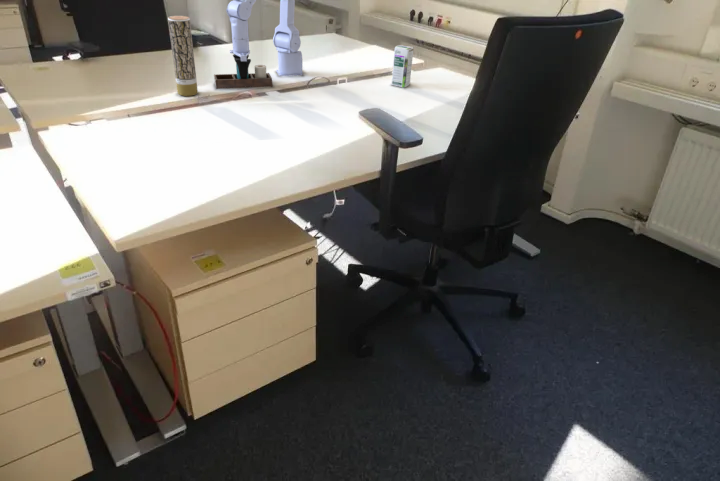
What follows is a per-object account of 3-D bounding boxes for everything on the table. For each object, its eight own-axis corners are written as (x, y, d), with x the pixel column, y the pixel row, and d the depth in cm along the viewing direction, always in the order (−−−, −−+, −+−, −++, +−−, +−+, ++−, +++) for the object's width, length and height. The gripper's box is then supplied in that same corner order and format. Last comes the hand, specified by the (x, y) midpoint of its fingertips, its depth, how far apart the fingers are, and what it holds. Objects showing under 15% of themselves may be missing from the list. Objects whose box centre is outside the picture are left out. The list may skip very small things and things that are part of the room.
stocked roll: (265, 82, 202) (265, 64, 199) (267, 85, 199) (266, 67, 195) (254, 82, 201) (253, 64, 198) (256, 85, 198) (255, 67, 194)
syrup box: (390, 85, 209) (394, 46, 201) (397, 82, 213) (400, 44, 206) (404, 88, 207) (408, 49, 199) (410, 84, 211) (414, 46, 204)
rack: (269, 82, 204) (268, 72, 202) (272, 87, 198) (272, 78, 197) (214, 84, 199) (213, 74, 197) (216, 89, 193) (215, 80, 191)
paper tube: (192, 97, 184) (183, 20, 171) (174, 95, 185) (163, 18, 172) (201, 92, 190) (193, 16, 176) (183, 90, 191) (174, 14, 177)
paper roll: (248, 79, 200) (247, 61, 196) (249, 82, 196) (248, 64, 193) (236, 79, 199) (235, 61, 195) (237, 82, 195) (236, 64, 192)
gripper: (226, 33, 194) (229, 71, 201) (230, 42, 183) (233, 82, 190) (246, 33, 196) (248, 70, 203) (251, 42, 184) (253, 81, 192)
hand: (242, 76), depth 197 cm, fingers closed on paper roll, 4 cm apart
